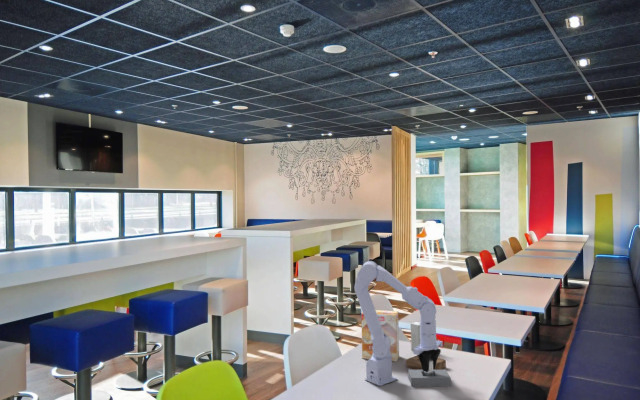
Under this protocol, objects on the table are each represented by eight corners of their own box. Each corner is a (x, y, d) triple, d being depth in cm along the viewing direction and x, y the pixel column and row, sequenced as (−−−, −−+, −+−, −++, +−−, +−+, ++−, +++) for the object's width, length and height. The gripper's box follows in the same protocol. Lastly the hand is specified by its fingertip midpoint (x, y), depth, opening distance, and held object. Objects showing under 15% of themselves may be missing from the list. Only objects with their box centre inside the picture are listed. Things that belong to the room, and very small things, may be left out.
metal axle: (429, 384, 168) (429, 362, 168) (422, 381, 171) (422, 360, 171) (435, 381, 170) (434, 360, 170) (428, 379, 173) (427, 358, 173)
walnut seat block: (428, 374, 178) (428, 366, 178) (406, 366, 186) (406, 359, 186) (445, 367, 185) (445, 359, 185) (423, 360, 193) (423, 353, 193)
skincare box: (419, 353, 202) (418, 325, 202) (410, 350, 205) (409, 323, 205) (427, 349, 206) (426, 322, 206) (418, 347, 210) (417, 320, 210)
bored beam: (411, 386, 167) (411, 377, 167) (408, 377, 175) (408, 369, 175) (450, 386, 166) (450, 377, 166) (445, 377, 174) (445, 369, 174)
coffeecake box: (361, 358, 197) (360, 312, 196) (365, 353, 203) (364, 308, 203) (397, 361, 192) (396, 314, 192) (399, 356, 199) (398, 310, 199)
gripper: (424, 339, 163) (425, 378, 163) (449, 331, 172) (449, 367, 172) (408, 335, 168) (409, 372, 168) (433, 327, 178) (434, 362, 178)
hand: (428, 369), depth 171 cm, fingers closed on metal axle, 3 cm apart
